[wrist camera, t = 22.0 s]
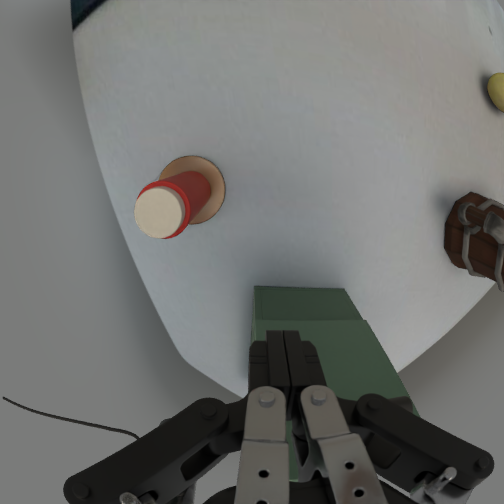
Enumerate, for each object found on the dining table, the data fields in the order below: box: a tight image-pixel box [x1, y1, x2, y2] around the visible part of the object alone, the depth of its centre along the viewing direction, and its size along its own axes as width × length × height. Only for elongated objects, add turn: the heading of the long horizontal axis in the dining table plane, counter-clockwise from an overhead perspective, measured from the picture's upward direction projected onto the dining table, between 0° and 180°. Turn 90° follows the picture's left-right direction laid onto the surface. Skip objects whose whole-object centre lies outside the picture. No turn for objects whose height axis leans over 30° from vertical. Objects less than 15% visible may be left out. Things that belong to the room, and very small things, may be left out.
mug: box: [444, 192, 504, 292], centre depth 26 cm, size 16×12×15 cm
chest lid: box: [255, 320, 421, 482], centre depth 19 cm, size 17×12×5 cm
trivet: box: [159, 156, 225, 224], centre depth 31 cm, size 8×8×1 cm
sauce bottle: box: [134, 171, 211, 239], centre depth 25 cm, size 5×5×12 cm
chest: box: [251, 286, 363, 345], centre depth 35 cm, size 17×12×8 cm
